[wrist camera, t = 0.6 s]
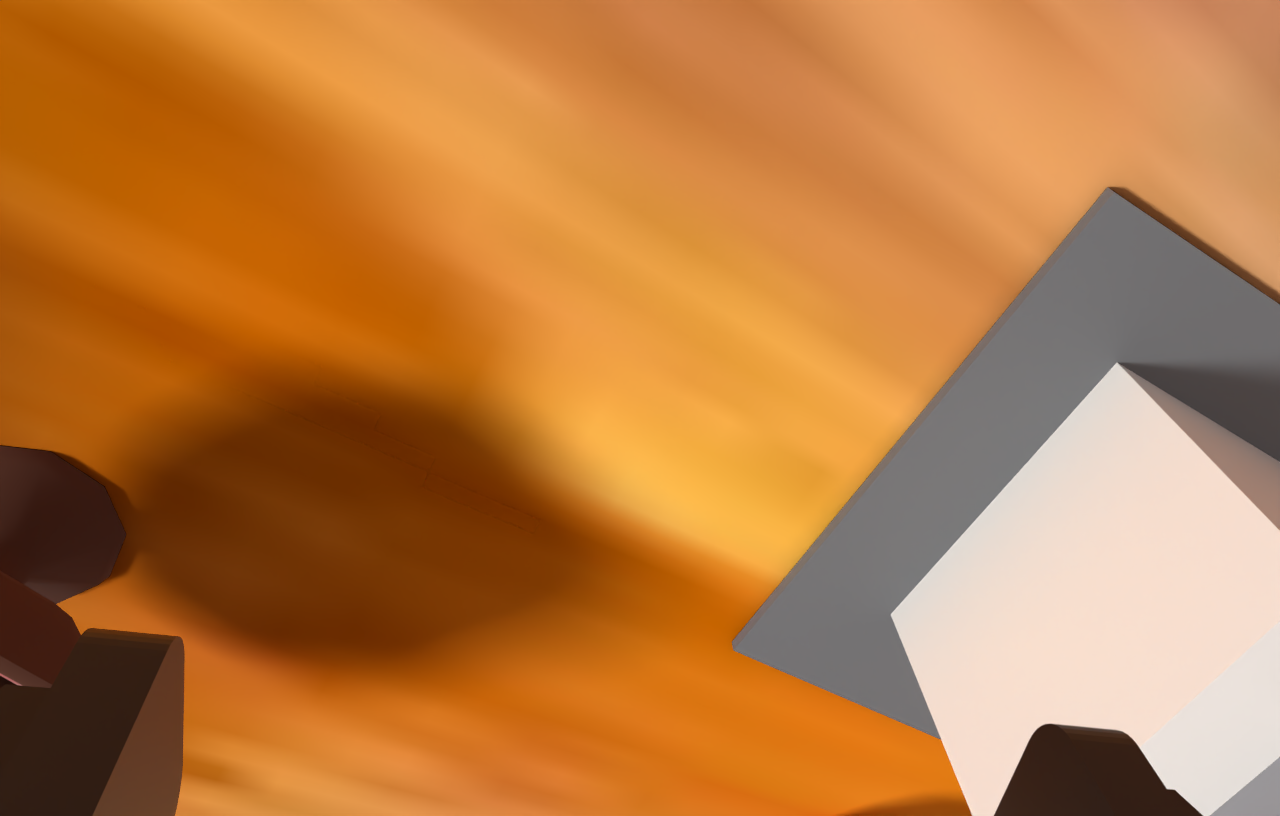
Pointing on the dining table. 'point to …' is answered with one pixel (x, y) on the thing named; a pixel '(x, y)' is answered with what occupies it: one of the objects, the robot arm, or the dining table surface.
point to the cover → (1115, 605)
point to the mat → (1018, 436)
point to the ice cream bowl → (47, 559)
